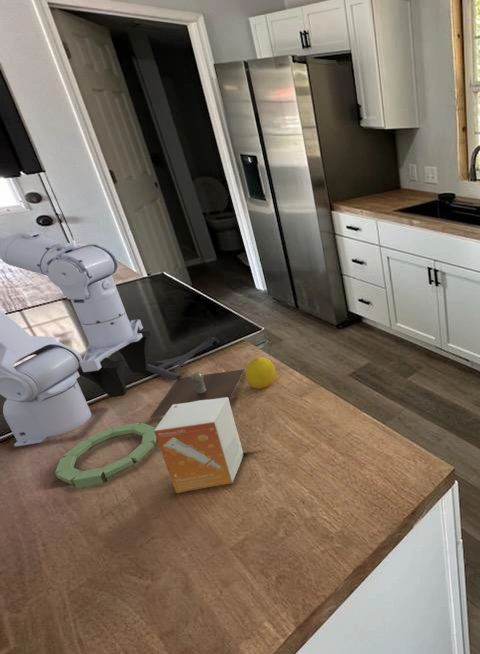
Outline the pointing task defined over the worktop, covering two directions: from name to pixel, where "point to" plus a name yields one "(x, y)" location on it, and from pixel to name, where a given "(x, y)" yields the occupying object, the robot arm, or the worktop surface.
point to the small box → (200, 444)
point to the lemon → (260, 372)
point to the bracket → (179, 360)
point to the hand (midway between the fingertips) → (129, 382)
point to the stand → (200, 389)
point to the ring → (96, 475)
